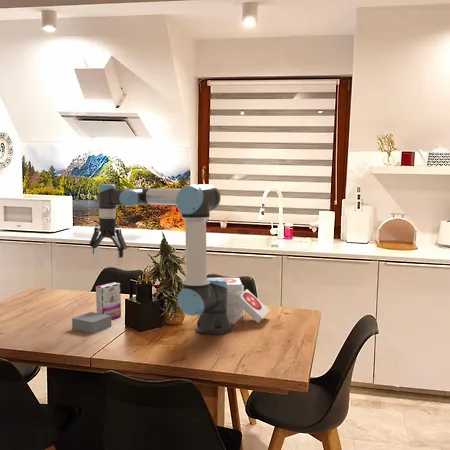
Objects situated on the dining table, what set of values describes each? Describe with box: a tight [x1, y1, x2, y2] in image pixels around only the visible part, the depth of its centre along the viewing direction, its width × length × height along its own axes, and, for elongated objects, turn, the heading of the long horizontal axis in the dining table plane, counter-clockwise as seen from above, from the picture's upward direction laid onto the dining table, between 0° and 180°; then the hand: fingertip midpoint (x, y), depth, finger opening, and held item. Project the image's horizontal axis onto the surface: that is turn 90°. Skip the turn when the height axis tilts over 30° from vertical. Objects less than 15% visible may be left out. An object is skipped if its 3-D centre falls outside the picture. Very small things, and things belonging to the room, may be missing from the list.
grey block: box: [71, 311, 112, 334], centre depth 236 cm, size 12×12×5 cm
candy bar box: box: [95, 281, 122, 321], centre depth 250 cm, size 11×5×16 cm, turn 143°
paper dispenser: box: [217, 277, 270, 325], centre depth 253 cm, size 19×30×18 cm, turn 73°
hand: (107, 262), depth 248 cm, fingers open, 13 cm apart
